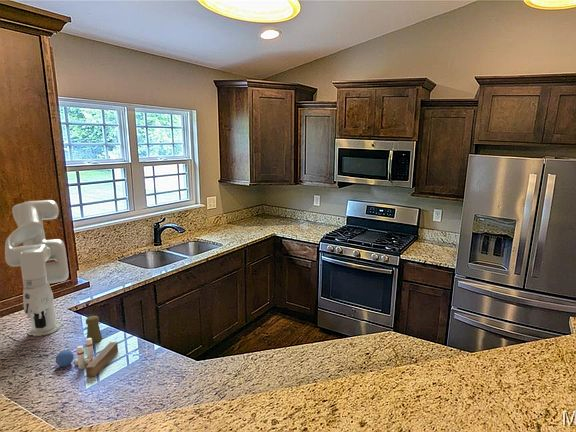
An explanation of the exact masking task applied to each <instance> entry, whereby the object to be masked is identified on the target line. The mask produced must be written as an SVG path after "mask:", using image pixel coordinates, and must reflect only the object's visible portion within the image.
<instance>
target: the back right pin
mask: <svg viewBox="0 0 576 432" xmlns="http://www.w3.org/2000/svg"><path fill="white" fill-rule="evenodd" d="M76 354H77V355H76V356H77V359H78V365H77V366H78V369H79V370H84V369H86V365H85V359H86V358H85V351H84V346H83V345H78V346H77V347H76Z"/></svg>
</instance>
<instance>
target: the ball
mask: <svg viewBox="0 0 576 432" xmlns="http://www.w3.org/2000/svg"><path fill="white" fill-rule="evenodd" d="M74 358H75V356H74V353H73V352H72V351H71V350H69V349H64V350H61V351H59V352H58V353H57V354H56V356H55V363H56V365H57V366H59V367H68V366H69V365H71V364H72V363H73V362H74V361H73V360H74Z"/></svg>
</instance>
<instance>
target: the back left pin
mask: <svg viewBox="0 0 576 432" xmlns="http://www.w3.org/2000/svg"><path fill="white" fill-rule="evenodd" d="M93 345H94V344H92V338H87V337H86V339H85V347H86V348H85V349H86V357H87V358H86V359H89V358H95V356H94V348H93V347H94V346H93Z"/></svg>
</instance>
